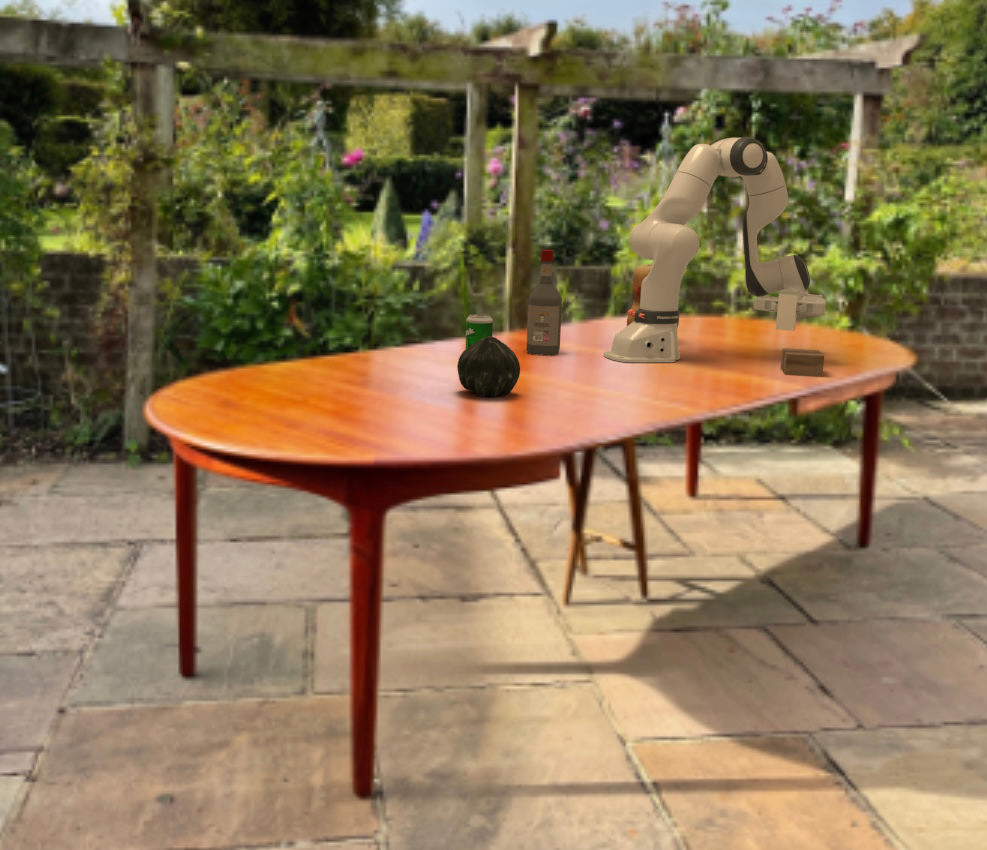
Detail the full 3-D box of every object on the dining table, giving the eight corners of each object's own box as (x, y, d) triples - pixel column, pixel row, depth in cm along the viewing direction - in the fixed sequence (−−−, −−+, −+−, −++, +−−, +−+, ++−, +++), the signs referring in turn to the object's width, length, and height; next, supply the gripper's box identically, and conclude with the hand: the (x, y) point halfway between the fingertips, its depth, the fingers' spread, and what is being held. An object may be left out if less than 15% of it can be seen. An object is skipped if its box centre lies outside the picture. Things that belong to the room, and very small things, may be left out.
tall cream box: (793, 330, 309) (797, 292, 307) (775, 329, 311) (779, 290, 309) (795, 328, 314) (799, 290, 312) (777, 327, 316) (781, 289, 313)
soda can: (492, 356, 314) (494, 314, 311) (490, 360, 306) (491, 317, 304) (466, 354, 314) (468, 313, 312) (463, 359, 307) (464, 316, 304)
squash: (491, 362, 272) (467, 321, 262) (539, 373, 263) (516, 331, 253) (461, 405, 266) (436, 365, 256) (509, 417, 257) (484, 376, 247)
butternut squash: (619, 342, 346) (623, 263, 340) (634, 337, 357) (639, 260, 352) (660, 347, 340) (666, 266, 334) (674, 342, 351) (680, 263, 345)
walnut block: (822, 377, 299) (824, 356, 297) (784, 375, 300) (786, 353, 298) (816, 371, 308) (818, 350, 307) (780, 369, 309) (782, 348, 308)
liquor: (556, 356, 317) (560, 252, 310) (525, 354, 319) (529, 250, 312) (560, 351, 326) (565, 249, 319) (530, 349, 327) (534, 248, 320)
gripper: (757, 290, 326) (751, 294, 313) (828, 295, 319) (825, 299, 306) (755, 311, 327) (749, 316, 314) (825, 316, 320) (822, 322, 308)
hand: (787, 308), depth 310 cm, fingers closed on tall cream box, 5 cm apart
